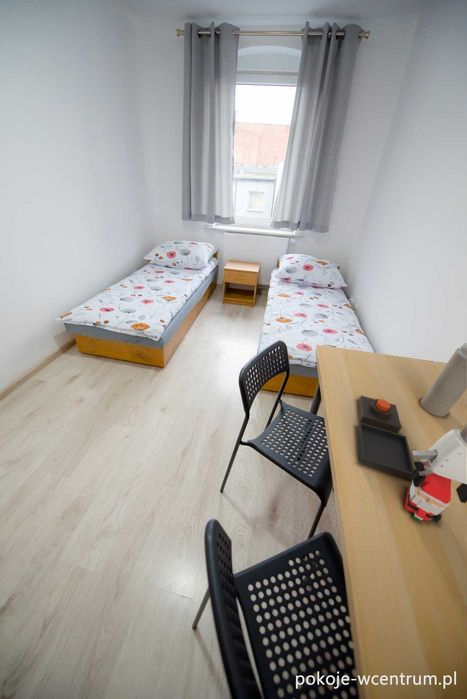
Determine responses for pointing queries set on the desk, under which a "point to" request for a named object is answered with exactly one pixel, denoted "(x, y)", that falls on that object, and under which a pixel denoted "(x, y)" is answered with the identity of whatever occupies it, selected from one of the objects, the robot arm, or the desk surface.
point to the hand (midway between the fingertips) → (436, 488)
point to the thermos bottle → (448, 384)
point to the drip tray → (384, 451)
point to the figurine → (429, 497)
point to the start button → (383, 405)
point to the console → (378, 415)
